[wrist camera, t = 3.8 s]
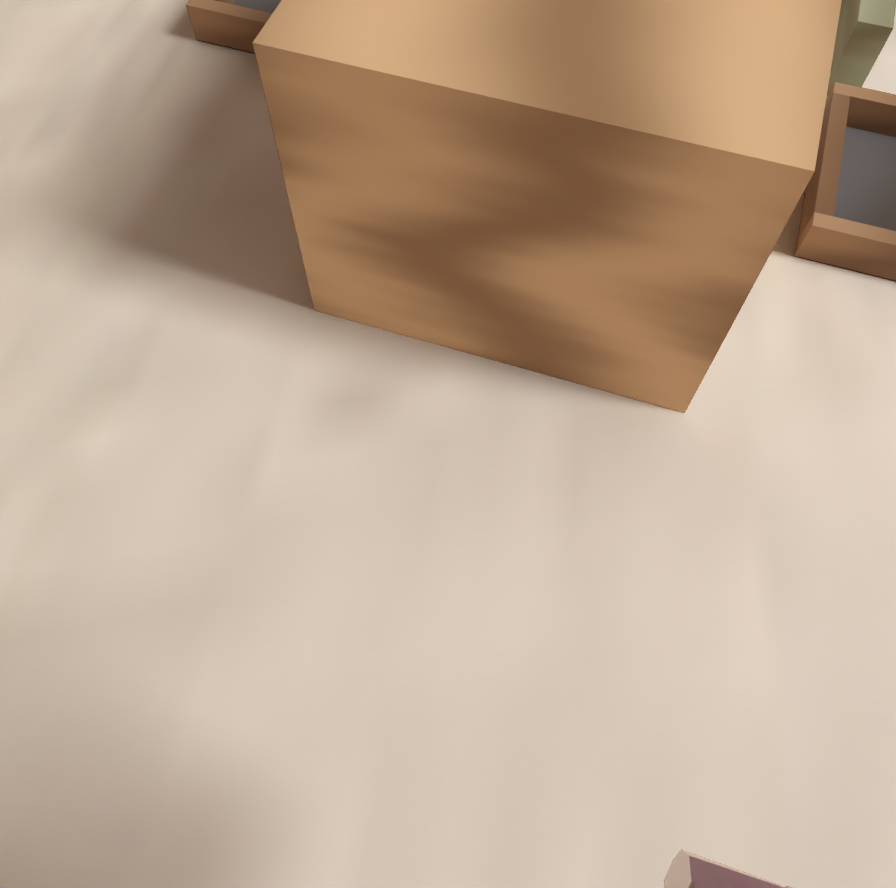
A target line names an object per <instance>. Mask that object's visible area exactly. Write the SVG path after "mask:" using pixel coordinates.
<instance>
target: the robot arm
mask: <svg viewBox="0 0 896 888" xmlns="http://www.w3.org/2000/svg"><path fill="white" fill-rule="evenodd" d="M664 888H792V887H789V886H785V887H783V886H781V885H779V884H776V883H773V882H770V881H768V880H765V879H762V878H759V877H757V876H754V875H751V874H748V873H745V872H743V871H740V870H737V869H734V868H732V867H729V866H726V865H723V864H721V863H718V862H715V861H712V860H709V859H707V858H704V857H701V856H698V855H696V854H693V853H690V852H687V851H684V850H682V849H681V850H680V852H679V853H678V854H677V855H676V857H675V858H674V859H673V861H672V863H671V865H670V868H669V870H668V872H667V874H666V877H665V879H664Z"/></svg>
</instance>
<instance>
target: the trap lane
mask: <svg viewBox="0 0 896 888" xmlns="http://www.w3.org/2000/svg"><path fill="white" fill-rule="evenodd" d="M280 2H281V0H190V1H189V2H188V3H187V5H186V6H187V9H188V13H189V16H190V20H191V23H192V26H193V30H194V33H195V36H196V39H197V40H201V41H205V42H209V43H214V44H218V45H222V46H227V47H231V48H235V49H240V50H244V51H248V52H252V53H255V51H254V47H253V41H254V40H255V38H256V37H257V35H258V34H259V32H260V31H261V30H262V28H263V27H264V25H265V24H266V22H267V21H268V19H269V18H270V16H271V15H272V14H273V12H274V11H275V9H276V8H277V6H278V5H279V3H280ZM895 7H896V0H842V2H841V8H840V15H839V21H838V27H837V34H836V40H835V46H834V52H833V59H832V65H831V71H830V78H829V84H828V90H827V98H826V103H825V109H824V115H823V122H822V128H821V134H820V141H819V147H818V153H817V159H816V166H815V171H814V173H813V175H812V177H811V179H810V181H809V183H808V185H807V186H806V191H805V197H804V203H803V209H802V215H801V221H800V227H799V233H798V239H797V245H796V252H795V256H798V257H802V258H806V259H810V260H814V261H818V262H822V263H826V264H830V265H834V266H838V267H843V268H847V269H851V270H855V271H859V272H863V273H867V274H871V275H875V276H879V277H883V278H887V279H891V280H895V281H896V95H894V94H890V93H885V92H880V91H876V90H871V89H866V88H862V85H863V83H864V81H865V79H866V78H867V76H868V74H869V72H870V70H871V68H872V66H873V65H874V63H875V61H876V59H877V57H878V55H879V54H880V52H881V50H882V48H883V46H884V44H885V42H886V41H887V39H888V37H889V35H890V33H891V31H892V29H893V25H894V16H895Z"/></svg>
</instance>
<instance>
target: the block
mask: <svg viewBox="0 0 896 888" xmlns="http://www.w3.org/2000/svg"><path fill="white" fill-rule="evenodd" d="M841 2H842V0H281V2H280V3H279V5H278V6H277V8H276V9H275V11H274V12H273V14H272V15H271V16H270V18H269V19H268V21H267V22H266V24H265V25H264V27H263V28H262V30H261V31H260V32H259V34H258V35H257V37H256V38H255V40H254V41H253V47H254V51H255V55H256V60H257V64H258V68H259V73H260V77H261V81H262V86H263V90H264V94H265V99H266V103H267V107H268V112H269V116H270V120H271V125H272V129H273V133H274V138H275V142H276V146H277V151H278V155H279V159H280V164H281V168H282V172H283V177H284V181H285V185H286V190H287V194H288V198H289V203H290V207H291V211H292V216H293V220H294V224H295V228H296V233H297V237H298V241H299V246H300V250H301V254H302V259H303V263H304V267H305V272H306V276H307V280H308V285H309V289H310V293H311V298H312V302H313V306H314V310H315V311H319V312H322V313H326V314H329V315H333V316H337V317H340V318H344V319H347V320H351V321H355V322H358V323H362V324H365V325H369V326H373V327H376V328H380V329H383V330H387V331H391V332H394V333H398V334H401V335H405V336H409V337H412V338H416V339H419V340H423V341H427V342H430V343H434V344H437V345H441V346H445V347H448V348H452V349H455V350H459V351H463V352H466V353H470V354H474V355H477V356H481V357H484V358H488V359H492V360H495V361H499V362H502V363H506V364H510V365H513V366H517V367H520V368H524V369H528V370H531V371H535V372H538V373H542V374H546V375H549V376H553V377H556V378H560V379H564V380H567V381H571V382H574V383H578V384H582V385H585V386H589V387H592V388H596V389H600V390H603V391H607V392H610V393H614V394H618V395H621V396H625V397H628V398H632V399H636V400H639V401H643V402H646V403H650V404H654V405H657V406H661V407H664V408H668V409H672V410H675V411H679V412H682V413H685V411H686V409H687V408H688V406H689V404H690V402H691V400H692V398H693V396H694V395H695V393H696V391H697V389H698V387H699V385H700V383H701V382H702V380H703V378H704V376H705V374H706V372H707V370H708V369H709V367H710V365H711V363H712V361H713V359H714V357H715V355H716V354H717V352H718V350H719V348H720V346H721V344H722V342H723V341H724V339H725V337H726V335H727V333H728V331H729V329H730V328H731V326H732V324H733V322H734V320H735V318H736V316H737V315H738V313H739V311H740V309H741V307H742V305H743V303H744V302H745V300H746V298H747V296H748V294H749V292H750V290H751V289H752V287H753V285H754V283H755V281H756V279H757V277H758V276H759V274H760V272H761V270H762V268H763V266H764V264H765V263H766V261H767V259H768V257H769V255H770V253H771V251H772V250H773V248H774V246H775V244H776V242H777V240H778V238H779V237H780V235H781V233H782V231H783V229H784V227H785V225H786V224H787V222H788V220H789V218H790V216H791V214H792V212H793V211H794V209H795V207H796V205H797V203H798V201H799V199H800V198H801V196H802V194H803V192H804V190H805V188H806V186H807V185H808V183H809V181H810V179H811V177H812V175H813V173H814V171H815V166H816V159H817V153H818V147H819V141H820V134H821V128H822V122H823V115H824V109H825V103H826V97H827V90H828V84H829V78H830V71H831V65H832V59H833V52H834V46H835V40H836V34H837V27H838V21H839V15H840V8H841Z"/></svg>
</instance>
